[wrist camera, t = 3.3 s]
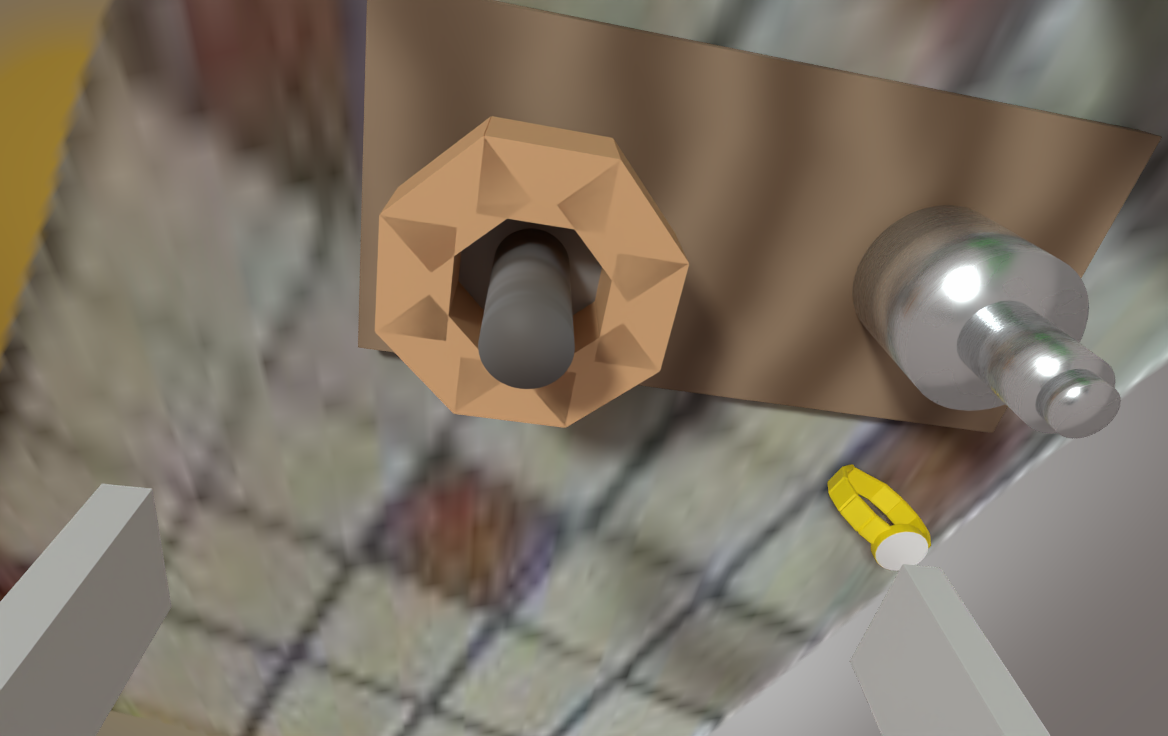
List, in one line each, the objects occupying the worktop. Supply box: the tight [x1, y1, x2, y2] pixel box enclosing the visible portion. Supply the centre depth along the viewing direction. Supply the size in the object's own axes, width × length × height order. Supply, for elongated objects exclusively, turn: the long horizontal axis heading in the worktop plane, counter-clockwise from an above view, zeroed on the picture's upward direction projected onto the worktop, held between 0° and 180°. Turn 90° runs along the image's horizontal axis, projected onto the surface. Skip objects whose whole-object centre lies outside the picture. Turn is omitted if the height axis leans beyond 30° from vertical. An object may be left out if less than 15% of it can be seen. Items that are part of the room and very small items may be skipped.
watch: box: [828, 465, 931, 571], centre depth 39 cm, size 6×3×6 cm, turn 58°
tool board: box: [358, 0, 1162, 433], centre depth 28 cm, size 34×16×14 cm, turn 80°
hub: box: [852, 205, 1121, 438], centre depth 29 cm, size 7×7×12 cm
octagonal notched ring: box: [375, 116, 689, 428], centre depth 25 cm, size 10×10×3 cm
